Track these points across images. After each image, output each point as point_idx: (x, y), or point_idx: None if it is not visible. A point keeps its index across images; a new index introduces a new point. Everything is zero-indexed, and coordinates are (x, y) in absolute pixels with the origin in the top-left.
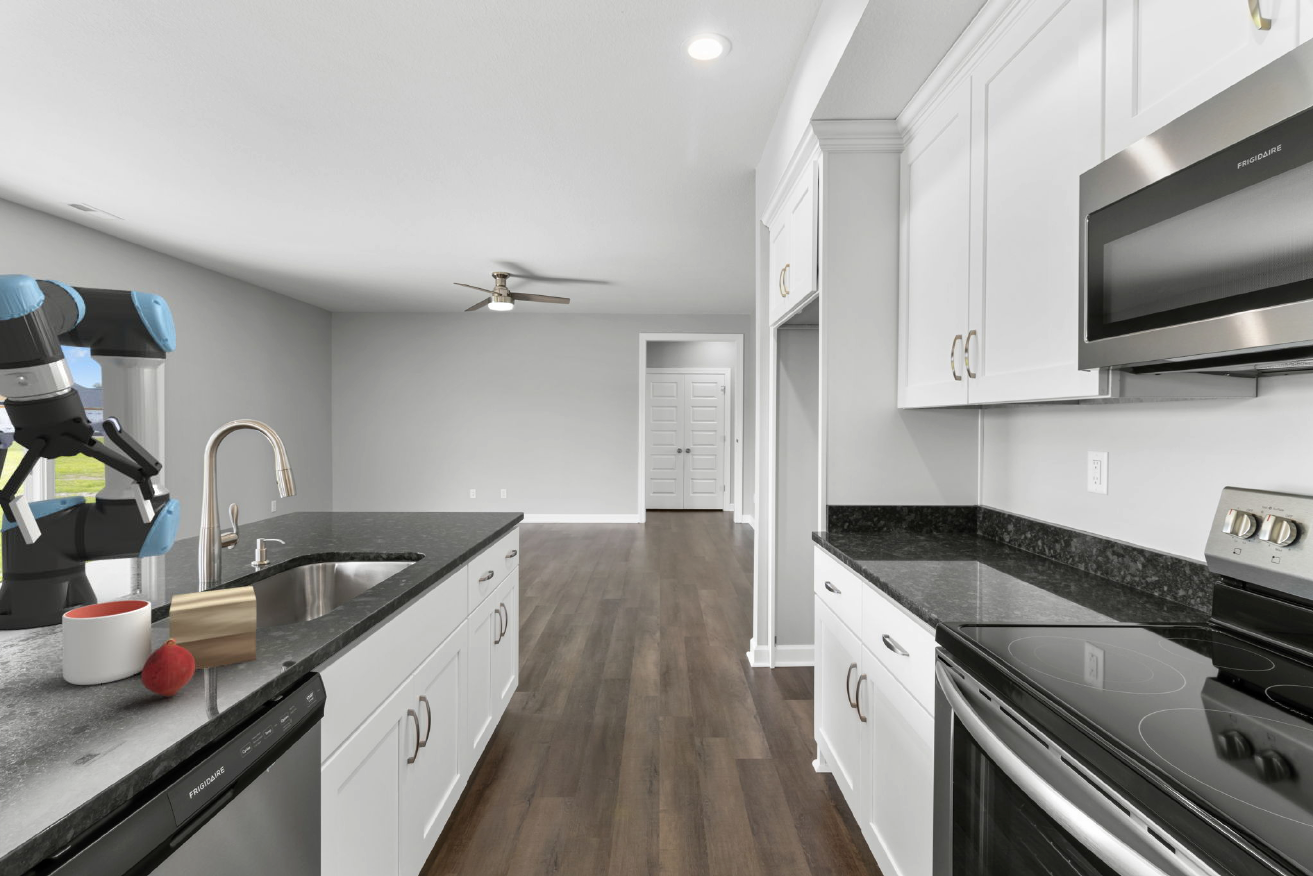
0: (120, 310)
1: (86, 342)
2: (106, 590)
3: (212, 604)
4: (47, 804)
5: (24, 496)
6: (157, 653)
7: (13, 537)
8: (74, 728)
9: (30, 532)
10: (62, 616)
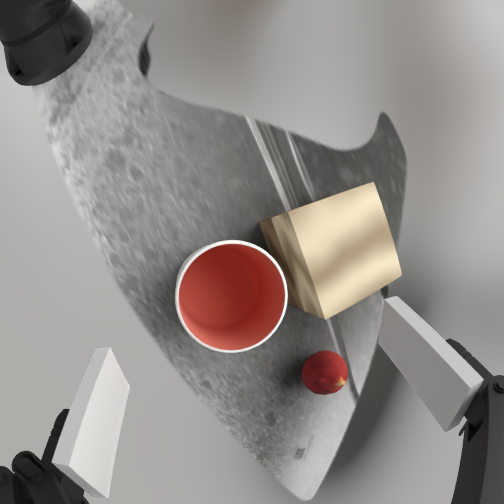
0: None
1: None
2: None
3: (363, 289)
4: (304, 486)
5: (72, 461)
6: (329, 391)
7: None
8: (265, 417)
9: (121, 404)
10: (183, 326)
